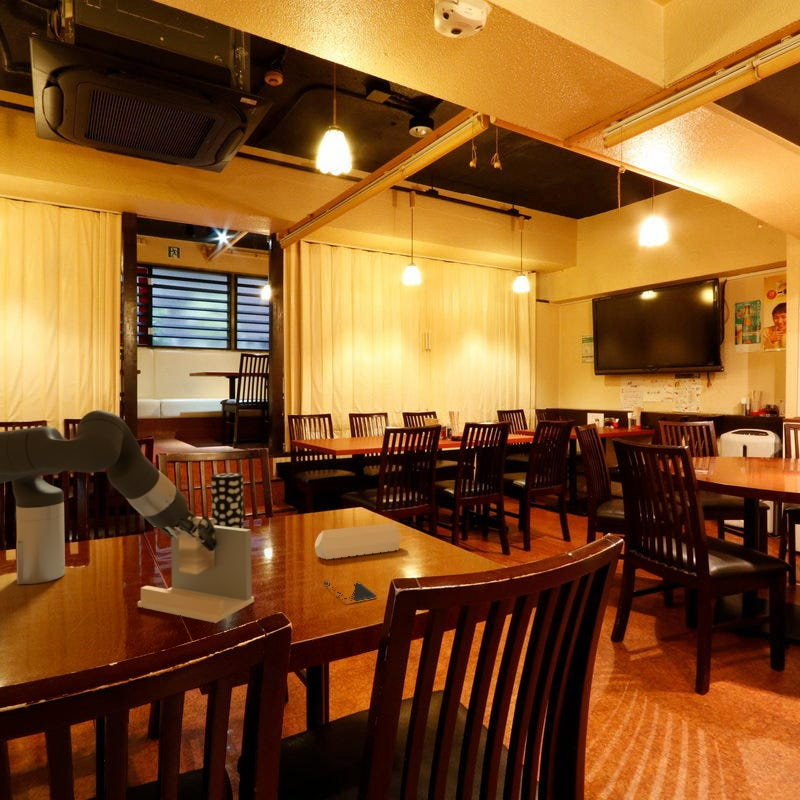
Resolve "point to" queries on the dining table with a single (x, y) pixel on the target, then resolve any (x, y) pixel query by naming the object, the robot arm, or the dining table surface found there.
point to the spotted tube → (227, 499)
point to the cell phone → (358, 592)
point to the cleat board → (208, 581)
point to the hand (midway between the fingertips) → (204, 545)
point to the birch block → (194, 554)
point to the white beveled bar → (357, 541)
